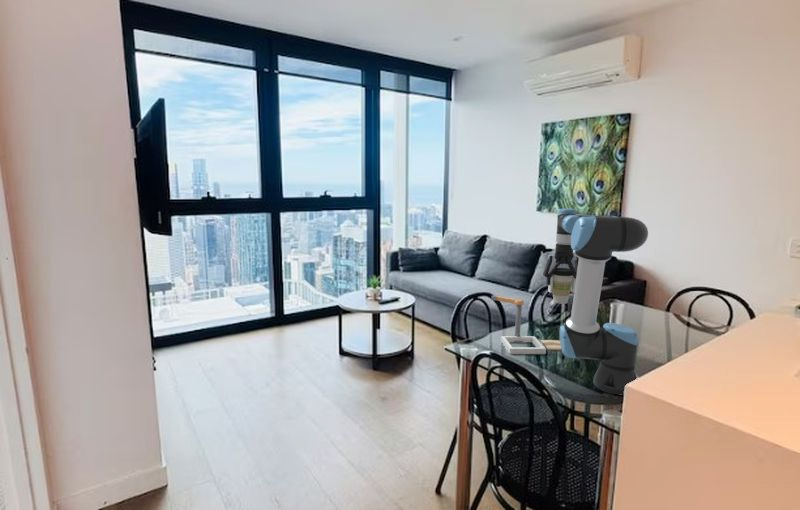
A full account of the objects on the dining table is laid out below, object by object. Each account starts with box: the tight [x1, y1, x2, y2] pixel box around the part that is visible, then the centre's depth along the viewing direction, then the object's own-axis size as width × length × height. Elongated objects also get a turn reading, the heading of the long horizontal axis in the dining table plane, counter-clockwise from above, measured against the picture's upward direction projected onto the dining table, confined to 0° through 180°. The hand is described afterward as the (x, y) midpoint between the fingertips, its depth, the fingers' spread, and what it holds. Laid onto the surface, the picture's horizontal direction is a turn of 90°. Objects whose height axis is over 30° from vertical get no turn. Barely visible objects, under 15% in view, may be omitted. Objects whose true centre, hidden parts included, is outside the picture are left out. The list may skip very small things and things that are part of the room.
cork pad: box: [539, 339, 562, 352], centre depth 209 cm, size 12×12×1 cm
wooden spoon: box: [490, 294, 525, 306], centre depth 215 cm, size 16×4×2 cm, turn 51°
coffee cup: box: [551, 267, 574, 305], centre depth 204 cm, size 10×10×15 cm
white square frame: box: [500, 305, 547, 355], centre depth 206 cm, size 18×16×18 cm
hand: (561, 291), depth 205 cm, fingers closed on coffee cup, 10 cm apart
